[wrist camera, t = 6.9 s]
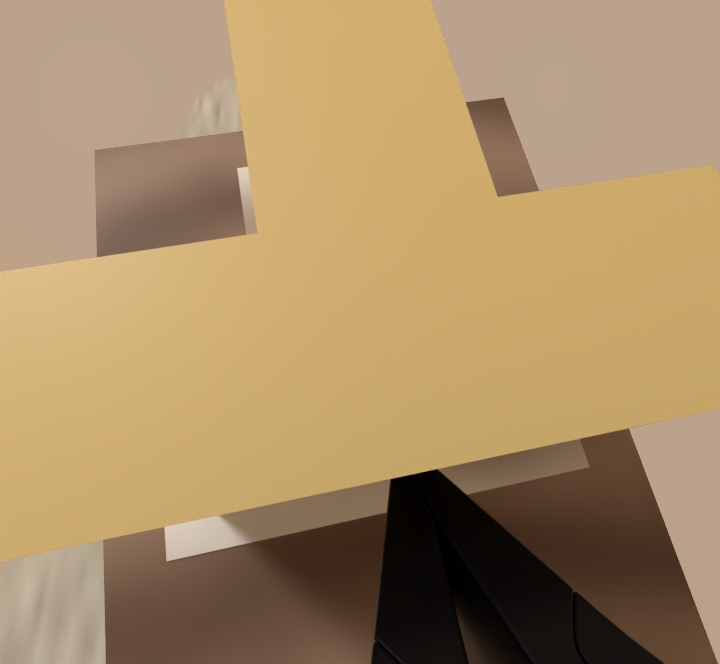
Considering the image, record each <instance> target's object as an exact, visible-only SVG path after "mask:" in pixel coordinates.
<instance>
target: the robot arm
mask: <svg viewBox="0 0 720 664" xmlns="http://www.w3.org/2000/svg"><path fill="white" fill-rule="evenodd" d="M468 661H469V662H468ZM469 663H470V664H665V663H663V662H662V661H661V660H660V659H658V658H657V657H656V656H654V655H653V654H652V653H650V652H649V651H648V650H647V649H645V648H644V647H643V646H641V645H640V644H639V643H637V642H636V641H635V640H634V639H632V638H631V637H630V636H628V635H627V634H626V633H625V632H624V631H623V630H621V629H620V628H619V627H618V626H617V625H615V624H614V623H613V622H612V621H611V620H609V619H608V618H607V617H606V616H605V615H603V614H602V613H601V612H600V611H599V610H598V609H596V608H595V607H594V606H593V605H592V604H591V603H590V602H588V601H587V600H586V599H585V598H584V597H583V596H582V595H581V594H579V593H578V592H573V588H572V587H571V586H570V585H569V584H568V583H567V582H566V581H564V580H563V579H562V578H561V577H560V576H559V575H558V574H556V573H555V572H554V571H553V570H552V569H551V568H550V567H548V566H547V565H546V564H545V563H544V562H543V561H542V560H541V559H539V558H538V557H537V556H536V555H535V554H534V553H533V552H531V551H530V550H529V549H528V548H527V547H526V546H525V545H523V544H522V543H521V542H520V541H519V540H518V539H517V538H515V537H514V536H513V535H512V534H511V533H510V532H509V531H508V530H506V529H505V528H504V527H503V526H502V525H501V524H500V523H498V522H497V521H496V520H495V519H494V518H493V517H492V516H490V515H489V514H488V513H487V512H486V511H485V510H484V509H482V508H481V507H480V506H479V505H478V504H477V503H476V502H475V501H473V500H472V499H471V498H470V497H469V496H468V495H467V494H465V493H464V492H463V491H462V490H461V489H460V488H459V487H457V486H456V485H455V484H454V483H453V482H452V481H451V480H449V479H448V478H447V477H446V476H445V475H444V474H443V473H442V472H440V471H439V470H438V469H435V470H430V471H426V472H421V473H416V474H411V475H407V476H402V477H397V478H393V479H390V486H389V496H388V505H387V515H386V524H385V534H384V543H383V553H382V562H381V572H380V581H379V591H378V600H377V610H376V619H375V629H374V643H373V645H372V655H371V664H469Z"/></svg>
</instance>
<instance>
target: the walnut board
mask: <svg viewBox="0 0 720 664" xmlns="http://www.w3.org/2000/svg"><path fill="white" fill-rule="evenodd" d="M466 105H467V108H468V111H469V114H470V117H471V120H472V123H473V125H474V128H475V131H476V134H477V137H478V140H479V143H480V146H481V149H482V152H483V155H484V158H485V161H486V164H487V167H488V169H489V172H490V175H491V178H492V181H493V184H494V187H495V190H496V193H497V196H498V197H502V196H508V195H515V194H522V193H528V192H535V191H539V190H538V188H537V185H536V182H535V180H534V177H533V174H532V172H531V169H530V167H529V164H528V161H527V159H526V156H525V154H524V151H523V148H522V146H521V143H520V140H519V137H518V135H517V132H516V130H515V127H514V124H513V122H512V119H511V116H510V114H509V111H508V108H507V106H506V103H505V101H504V98H497V99H489V100H481V101H473V102H466ZM95 180H96V183H95V184H96V228H97V257H103V256H109V255H116V254H123V253H129V252H136V251H142V250H149V249H156V248H162V247H169V246H176V245H182V244H189V243H196V242H202V241H209V240H216V239H222V238H229V237H236V236H242V235H249V234H256V233H257V226H256V219H255V212H254V205H253V198H252V191H251V184H250V177H249V170H248V163H247V156H246V150H245V143H244V136H243V131H240V132H232V133H225V134H217V135H209V136H201V137H194V138H186V139H178V140H171V141H163V142H155V143H147V144H139V145H132V146H124V147H116V148H108V149H100V150H95ZM438 470H439V471H440V472H442V473H443V474H444V475H445V476H446V477H447V478H448V479H449V480H451V481H452V482H453V483H454V484H455V485H456V486H457V487H459V488H460V489H461V490H462V491H463V492H464V493H465V494H467V495H468V496H469V497H470V498H471V499H472V500H473V501H475V502H476V503H477V504H478V505H479V506H480V507H481V508H482V509H484V510H485V511H486V512H487V513H488V514H489V515H490V516H492V517H493V518H494V519H495V520H496V521H497V522H498V523H500V524H501V525H502V526H503V527H504V528H505V529H506V530H508V531H509V532H510V533H511V534H512V535H513V536H514V537H515V538H517V539H518V540H519V541H520V542H521V543H522V544H523V545H525V546H526V547H527V548H528V549H529V550H530V551H531V552H533V553H534V554H535V555H536V556H537V557H538V558H539V559H541V560H542V561H543V562H544V563H545V564H546V565H547V566H548V567H550V568H551V569H552V570H553V571H554V572H555V573H556V574H558V575H559V576H560V577H561V578H562V579H563V580H564V581H566V582H567V583H568V584H569V585H570V586H571V587H572V588H573V592H578V593H579V594H581V595H582V596H583V597H584V598H585V599H586V600H587V601H588V602H590V603H591V604H592V605H593V606H594V607H595V608H596V609H598V610H599V611H600V612H601V613H602V614H603V615H605V616H606V617H607V618H608V619H609V620H611V621H612V622H613V623H614V624H615V625H617V626H618V627H619V628H620V629H621V630H623V631H624V632H625V633H626V634H627V635H628V636H630V637H631V638H632V639H634V640H635V641H636V642H637V643H639V644H640V645H641V646H643V647H644V648H645V649H647V650H648V651H649V652H650V653H652V654H653V655H654V656H656V657H657V658H658V659H660V660H661V661H662V662H663V663H665V664H718V663H717V660H716V658H715V655H714V653H713V650H712V647H711V645H710V642H709V639H708V637H707V634H706V631H705V629H704V626H703V623H702V621H701V618H700V616H699V613H698V610H697V608H696V605H695V602H694V600H693V597H692V594H691V592H690V589H689V587H688V584H687V581H686V579H685V576H684V573H683V571H682V568H681V566H680V563H679V560H678V557H677V555H676V552H675V550H674V547H673V544H672V542H671V539H670V536H669V534H668V531H667V528H666V526H665V523H664V520H663V518H662V515H661V513H660V510H659V507H658V505H657V502H656V499H655V497H654V494H653V491H652V489H651V486H650V483H649V481H648V478H647V476H646V473H645V470H644V468H643V465H642V463H641V460H640V457H639V454H638V452H637V449H636V446H635V444H634V441H633V439H632V436H631V433H630V431H629V428H628V429H623V430H619V431H614V432H609V433H604V434H600V435H595V436H590V437H586V438H581V439H576V440H571V441H567V442H562V443H557V444H553V445H548V446H543V447H539V448H534V449H529V450H524V451H520V452H515V453H510V454H506V455H501V456H496V457H491V458H487V459H482V460H477V461H473V462H468V463H463V464H458V465H454V466H449V467H444V468H440V469H438ZM389 486H390V479H388V480H383V481H378V482H374V483H369V484H364V485H360V486H355V487H350V488H345V489H341V490H336V491H331V492H327V493H322V494H317V495H313V496H308V497H303V498H298V499H294V500H289V501H284V502H280V503H275V504H270V505H265V506H261V507H256V508H251V509H247V510H242V511H237V512H232V513H228V514H223V515H218V516H214V517H209V518H204V519H199V520H195V521H190V522H185V523H181V524H176V525H171V526H167V527H162V528H157V529H152V530H148V531H143V532H138V533H134V534H129V535H124V536H119V537H115V538H110V539H105V540H103V545H104V590H105V635H106V664H371V655H372V645H373V643H374V629H375V619H376V610H377V600H378V591H379V581H380V572H381V562H382V553H383V543H384V534H385V524H386V515H387V505H388V496H389ZM468 662H469V661H468ZM469 664H470V663H469Z"/></svg>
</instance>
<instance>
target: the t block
mask: <svg viewBox="0 0 720 664" xmlns="http://www.w3.org/2000/svg"><path fill="white" fill-rule="evenodd" d="M224 4H225V11H226V18H227V24H228V32H229V39H230V45H231V53H232V59H233V66H234V73H235V80H236V87H237V94H238V101H239V108H240V115H241V122H242V129H243V136H244V143H245V150H246V156H247V163H248V170H249V177H250V184H251V191H252V198H253V205H254V212H255V219H256V226H257V233H256V234H249V235H242V236H236V237H229V238H222V239H216V240H209V241H202V242H196V243H189V244H182V245H176V246H169V247H162V248H156V249H149V250H142V251H136V252H129V253H123V254H116V255H109V256H103V257H96V258H90V259H83V260H76V261H69V262H63V263H56V264H49V265H43V266H37V267H30V268H23V269H16V270H9V271H3V272H0V562H1V561H6V560H11V559H16V558H21V557H25V556H30V555H35V554H39V553H44V552H49V551H54V550H58V549H63V548H68V547H72V546H77V545H82V544H86V543H91V542H96V541H101V540H105V539H110V538H115V537H119V536H124V535H129V534H134V533H138V532H143V531H148V530H152V529H157V528H162V527H167V526H171V525H176V524H181V523H185V522H190V521H195V520H199V519H204V518H209V517H214V516H218V515H223V514H228V513H232V512H237V511H242V510H247V509H251V508H256V507H261V506H265V505H270V504H275V503H280V502H284V501H289V500H294V499H298V498H303V497H308V496H313V495H317V494H322V493H327V492H331V491H336V490H341V489H345V488H350V487H355V486H360V485H364V484H369V483H374V482H378V481H383V480H388V479H393V478H397V477H402V476H407V475H411V474H416V473H421V472H426V471H430V470H435V469H440V468H444V467H449V466H454V465H458V464H463V463H468V462H473V461H477V460H482V459H487V458H491V457H496V456H501V455H506V454H510V453H515V452H520V451H524V450H529V449H534V448H539V447H543V446H548V445H553V444H557V443H562V442H567V441H571V440H576V439H581V438H586V437H590V436H595V435H600V434H604V433H609V432H614V431H619V430H623V429H628V428H633V427H637V426H642V425H647V424H652V423H656V422H661V421H665V420H670V419H675V418H680V417H684V416H689V415H694V414H699V413H703V412H707V411H713V410H717V409H720V176H719V174H718V173H717V170H716V169H715V167H714V165H708V166H701V167H695V168H688V169H682V170H675V171H668V172H661V173H655V174H648V175H642V176H635V177H628V178H621V179H615V180H608V181H602V182H595V183H588V184H582V185H575V186H569V187H562V188H555V189H548V190H542V191H535V192H528V193H522V194H515V195H508V196H502V197H498V196H497V193H496V190H495V187H494V184H493V181H492V178H491V175H490V172H489V169H488V167H487V164H486V161H485V158H484V155H483V152H482V149H481V146H480V143H479V140H478V137H477V134H476V131H475V128H474V125H473V123H472V120H471V117H470V114H469V111H468V108H467V105H466V102H465V99H464V96H463V93H462V90H461V87H460V84H459V81H458V79H457V76H456V73H455V70H454V67H453V64H452V61H451V58H450V55H449V52H448V49H447V46H446V43H445V40H444V38H443V35H442V32H441V29H440V26H439V23H438V20H437V17H436V15H435V12H434V8H433V5H432V3H431V0H224Z"/></svg>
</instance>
